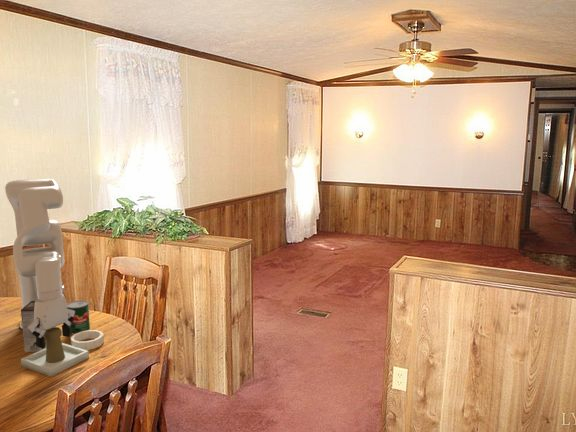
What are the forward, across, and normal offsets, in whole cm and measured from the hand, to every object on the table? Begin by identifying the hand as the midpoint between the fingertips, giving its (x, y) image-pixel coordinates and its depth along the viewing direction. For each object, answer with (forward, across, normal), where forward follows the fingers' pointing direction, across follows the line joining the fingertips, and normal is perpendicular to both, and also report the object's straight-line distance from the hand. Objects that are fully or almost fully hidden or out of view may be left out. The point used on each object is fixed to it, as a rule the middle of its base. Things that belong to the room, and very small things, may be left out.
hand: (54, 341), depth 164 cm
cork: (+6, 0, 0) cm, 7 cm away
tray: (+7, 0, 0) cm, 7 cm away
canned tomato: (+7, -22, -15) cm, 28 cm away
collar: (+7, -15, -2) cm, 17 cm away
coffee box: (+7, -5, -16) cm, 18 cm away
